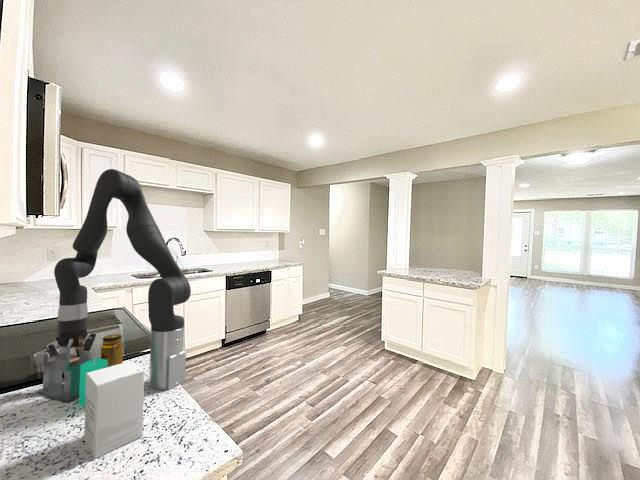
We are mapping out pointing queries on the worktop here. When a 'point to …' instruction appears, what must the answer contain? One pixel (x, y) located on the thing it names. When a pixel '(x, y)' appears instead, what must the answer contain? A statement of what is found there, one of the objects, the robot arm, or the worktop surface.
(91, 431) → the supplement box
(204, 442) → the worktop surface
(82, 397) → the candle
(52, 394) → the rack
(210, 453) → the worktop surface
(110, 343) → the condiment
